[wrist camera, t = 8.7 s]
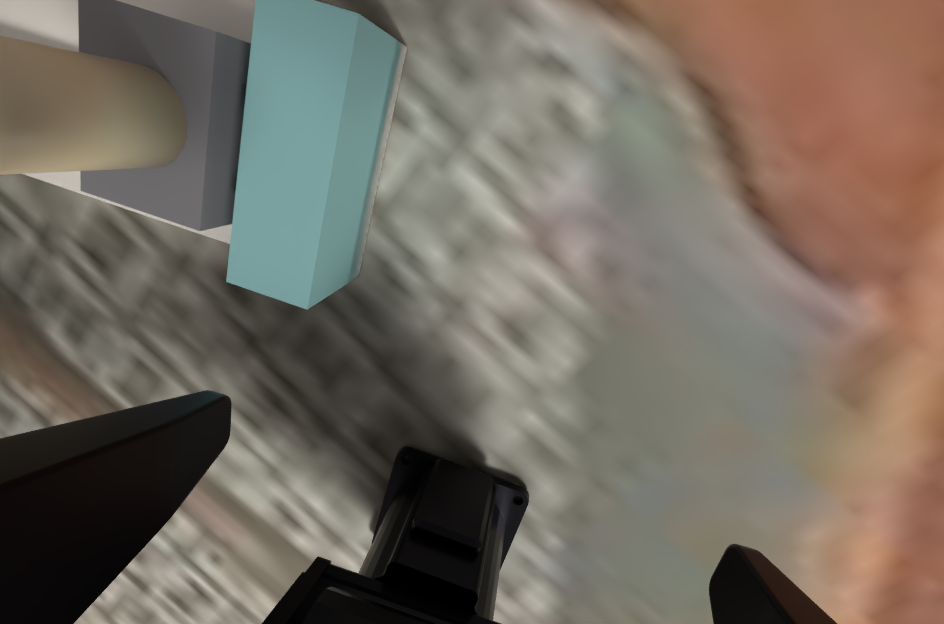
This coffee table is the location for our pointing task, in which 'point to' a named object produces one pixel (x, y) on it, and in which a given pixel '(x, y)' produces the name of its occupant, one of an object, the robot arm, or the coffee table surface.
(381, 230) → the coffee table surface
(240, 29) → the rail track
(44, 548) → the robot arm
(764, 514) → the coffee table surface
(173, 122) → the carriage
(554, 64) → the coffee table surface
